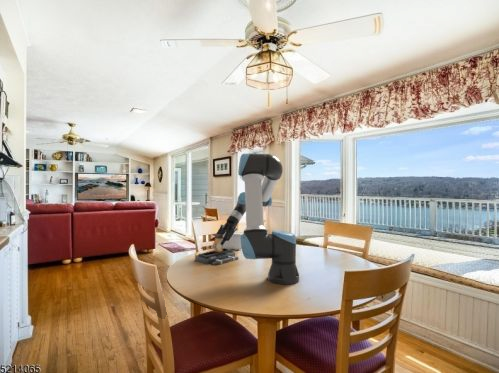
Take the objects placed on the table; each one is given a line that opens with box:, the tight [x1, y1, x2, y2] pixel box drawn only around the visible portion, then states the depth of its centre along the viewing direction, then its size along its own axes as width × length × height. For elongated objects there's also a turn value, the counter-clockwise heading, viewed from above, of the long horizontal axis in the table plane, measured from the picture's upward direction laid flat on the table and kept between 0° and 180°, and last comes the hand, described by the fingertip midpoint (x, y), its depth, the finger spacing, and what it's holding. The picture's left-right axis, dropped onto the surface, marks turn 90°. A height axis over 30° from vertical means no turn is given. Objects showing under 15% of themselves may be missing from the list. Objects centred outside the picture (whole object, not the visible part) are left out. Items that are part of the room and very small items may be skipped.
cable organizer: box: [222, 230, 244, 251], centre depth 201 cm, size 15×11×12 cm
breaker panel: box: [194, 247, 236, 265], centre depth 172 cm, size 22×12×4 cm, turn 138°
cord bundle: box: [210, 255, 239, 266], centre depth 166 cm, size 18×5×2 cm, turn 138°
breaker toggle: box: [213, 233, 224, 253], centre depth 174 cm, size 4×4×11 cm
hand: (215, 248), depth 172 cm, fingers closed on breaker toggle, 4 cm apart
